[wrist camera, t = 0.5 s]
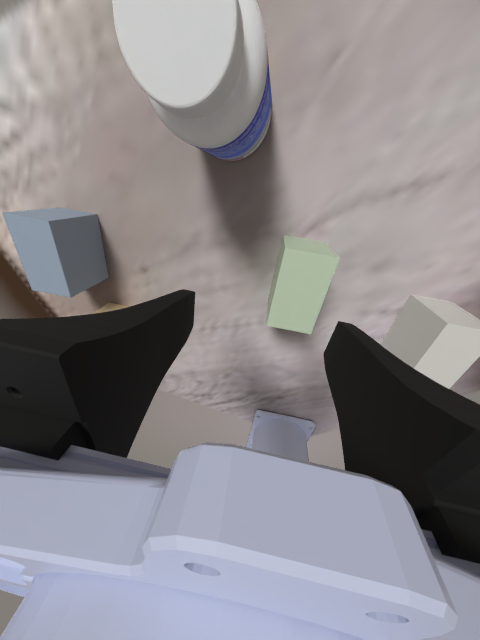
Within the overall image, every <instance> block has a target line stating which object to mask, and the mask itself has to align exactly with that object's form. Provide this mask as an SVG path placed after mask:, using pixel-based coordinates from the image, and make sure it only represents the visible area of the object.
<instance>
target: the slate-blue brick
mask: <svg viewBox="0 0 480 640" xmlns="http://www.w3.org/2000/svg"><path fill="white" fill-rule="evenodd" d="M3 216H4V218H5V221H6V224H7V226H8V229H9V231H10V234H11V237H12V239H13V242H14V244H15V247H16V249H17V252H18V255H19V257H20V260H21V262H22V265H23V268H24V270H25V273H26V275H27V278H28V280H29V283H30V286H31V288H32V290H35V291H40V292H45V293H50V294H55V295H60V296H65V297H70V298H71V297H73V296H75V295H77V294H79V293H81V292H82V291H84V290H86V289H88V288H90V287H92V286H94V285H96V284H98V283H100V282H101V281H103V280H105V279H107V278H109V276H108V271H107V265H106V260H105V254H104V248H103V243H102V237H101V232H100V226H99V221H98V215H97V214H93V213H88V212H82V211H76V210H71V209H65V208H51V209H39V210H27V211H16V212H4V213H3Z"/></svg>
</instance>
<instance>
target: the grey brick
mask: <svg viewBox="0 0 480 640" xmlns="http://www.w3.org/2000/svg"><path fill="white" fill-rule="evenodd" d="M380 345H381V346H383V347H384V348H385V349H387V350H388V351H389V352H391V353H392V354H393V355H395V356H396V357H398V358H399V359H401V360H402V361H403V362H405V363H406V364H408V365H409V366H411V367H412V368H414V369H415V370H417V371H419V372H420V373H422V374H424V375H425V376H427V377H429V378H430V379H432V380H434V381H435V382H437V383H439V384H441V385H442V386H444V387H446V388H448V389H449V388H450V387H451V386H452V385H453V384H454V383H455V382H456V381H457V380H458V379H459V378H460V377H461V376H462V374H463V373H464V372H465V371H466V370H467V369H468V368H469V367H470V366H471V365H472V364H473V363H474V362H475V360H476V359H477V358H478V357H479V356H480V320H479V319H478V318H476V317H475V316H473V315H472V314H470V313H468V312H467V311H465V310H464V309H462V308H461V307H459V306H458V305H456V304H454V303H453V302H450V301H445V300H440V299H434V298H429V297H423V296H418V295H412V294H410V296H409V298H408V299H407V301H406V303H405V304H404V306H403V308H402V309H401V311H400V313H399V314H398V316H397V318H396V319H395V321H394V323H393V324H392V326H391V328H390V329H389V331H388V333H387V334H386V336H385V338H384V339H383V341H382V343H381V344H380Z"/></svg>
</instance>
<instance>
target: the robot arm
mask: <svg viewBox="0 0 480 640" xmlns="http://www.w3.org/2000/svg"><path fill="white" fill-rule="evenodd" d="M194 304H195V292H193V291H189V290H184V289H183V290H179V291H176V292H173V293H170V294H167V295H165V296H162V297H159V298H156V299H153V300H150V301H147V302H144V303H141V304H138V305H134V306H131V307H127V308H122V309H118V310H113V311H108V312H101V313H95V314H88V315H80V316H70V317H57V318H32V319H0V590H2V591H6V592H9V593H12V594H15V595H19V596H23V597H25V598H24V599H23V601H22V603H21V604H20V606H19V607H18V609H17V611H16V612H15V614H14V616H13V617H12V619H11V620H10V622H9V624H8V625H7V627H6V628H5V630H4V632H3V633H2V635H1V637H0V640H480V405H479V404H477V403H475V402H473V401H471V400H469V399H467V398H465V397H463V396H461V395H459V394H457V393H456V392H454V391H452V390H450V389H448V388H446V387H444V386H442V385H441V384H439V383H437V382H435V381H434V380H432V379H430V378H429V377H427V376H425V375H424V374H422V373H420V372H419V371H417V370H415V369H414V368H412V367H411V366H409V365H408V364H406V363H405V362H403V361H402V360H401V359H399V358H398V357H396V356H395V355H393V354H392V353H391V352H389V351H388V350H387V349H385V348H384V347H383V346H381V345H380V344H379V343H377V342H376V341H375V340H373V339H372V338H371V337H370V336H368V335H367V334H366V333H364V332H363V331H362V330H360V329H359V328H357V327H356V326H354V325H352V324H350V323H345V322H340V321H338V323H337V326H336V328H335V330H334V332H333V334H332V336H331V339H330V341H329V343H328V345H327V347H326V350H325V352H324V363H325V371H326V375H327V378H328V382H329V386H330V390H331V393H332V397H333V400H334V404H335V408H336V411H337V416H338V420H339V427H340V433H341V439H342V447H343V454H344V463H345V470H341V469H337V468H332V467H328V466H324V465H319V464H315V463H311V462H309V460H308V452H307V441H308V439H309V437H310V436H311V434H312V432H313V430H314V428H315V426H316V425H315V422H313V421H309V420H304V419H300V418H295V417H290V416H286V415H281V414H276V413H272V412H267V411H262V410H257V411H256V413H255V416H254V420H253V423H252V427H251V431H250V434H249V438H248V441H247V445H246V447H242V446H238V445H232V444H221V443H208V442H207V443H203V444H200V445H197V446H194V447H190V448H187V449H185V450H183V451H181V452H180V453H179V455H178V457H177V458H176V460H175V462H174V464H173V466H172V469H169V468H165V467H161V466H157V465H153V464H149V463H144V462H140V461H136V460H132V459H128V458H127V456H128V453H129V451H130V448H131V446H132V443H133V441H134V439H135V436H136V434H137V432H138V430H139V427H140V425H141V423H142V421H143V418H144V416H145V414H146V412H147V410H148V408H149V405H150V403H151V401H152V399H153V397H154V395H155V393H156V391H157V389H158V387H159V385H160V383H161V381H162V379H163V377H164V376H165V374H166V372H167V371H168V369H169V368H170V366H171V365H172V363H173V361H174V360H175V358H176V357H177V355H178V354H179V352H180V351H181V349H182V347H183V346H184V344H185V343H186V341H187V339H188V337H189V335H190V332H191V330H192V328H193V323H194Z"/></svg>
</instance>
